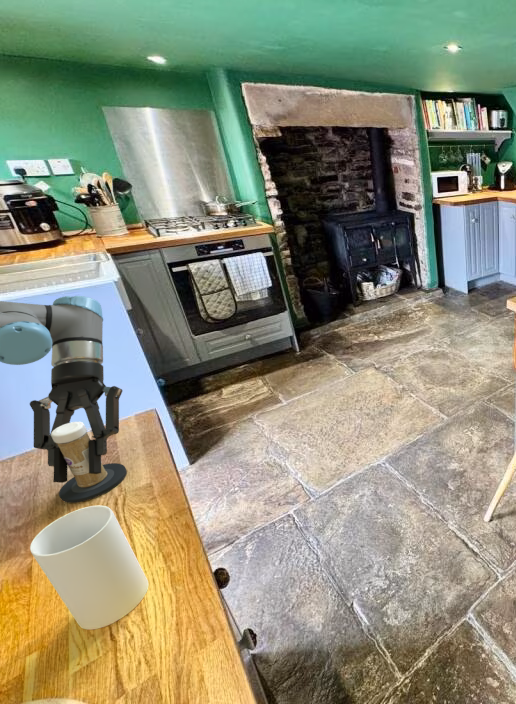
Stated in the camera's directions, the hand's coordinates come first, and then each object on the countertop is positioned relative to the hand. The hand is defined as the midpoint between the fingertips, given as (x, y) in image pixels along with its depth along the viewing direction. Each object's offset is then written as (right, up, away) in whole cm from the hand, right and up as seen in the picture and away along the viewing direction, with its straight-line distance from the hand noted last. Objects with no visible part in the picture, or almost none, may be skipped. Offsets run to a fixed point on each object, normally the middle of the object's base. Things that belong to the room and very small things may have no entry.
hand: (78, 477), depth 79 cm
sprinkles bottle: (-2, -3, +5) cm, 6 cm away
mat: (-2, -3, +5) cm, 6 cm away
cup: (+23, -13, -16) cm, 31 cm away
